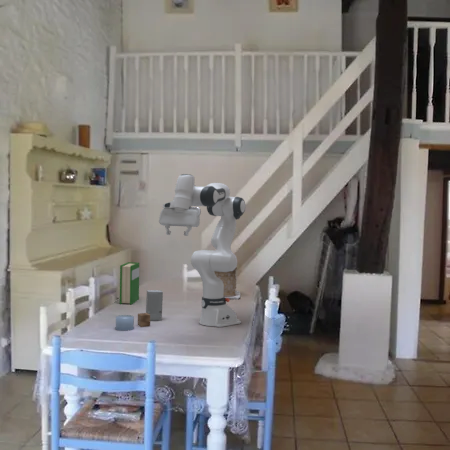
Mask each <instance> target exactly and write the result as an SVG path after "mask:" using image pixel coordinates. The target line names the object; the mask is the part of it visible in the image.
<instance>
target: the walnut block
mask: <svg viewBox="0 0 450 450" xmlns="http://www.w3.org/2000/svg"><path fill="white" fill-rule="evenodd" d="M138 325H139V326H138ZM137 326H138V327H140V328H144V327H151V321H150V314H148V313H146V312H141V313H137Z"/></svg>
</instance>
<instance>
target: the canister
mask: <svg viewBox="0 0 450 450" xmlns="http://www.w3.org/2000/svg"><path fill="white" fill-rule="evenodd" d="M134 321H135V316H134V315H130V314H121V315H116V316H115V327H114V330H116V331H122V332H124V331H125V332H126V331H127V332H128V330H129V331H133V330H135V322H134Z"/></svg>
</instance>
